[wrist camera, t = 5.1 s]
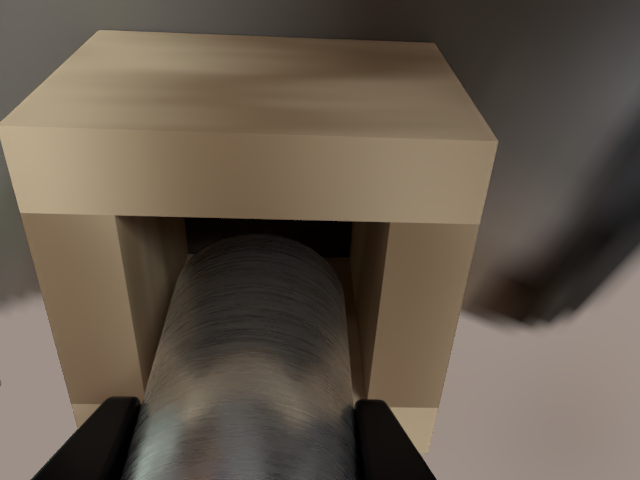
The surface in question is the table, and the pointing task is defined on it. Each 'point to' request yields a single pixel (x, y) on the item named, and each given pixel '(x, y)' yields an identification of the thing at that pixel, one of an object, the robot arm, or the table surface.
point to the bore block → (251, 193)
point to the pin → (250, 371)
